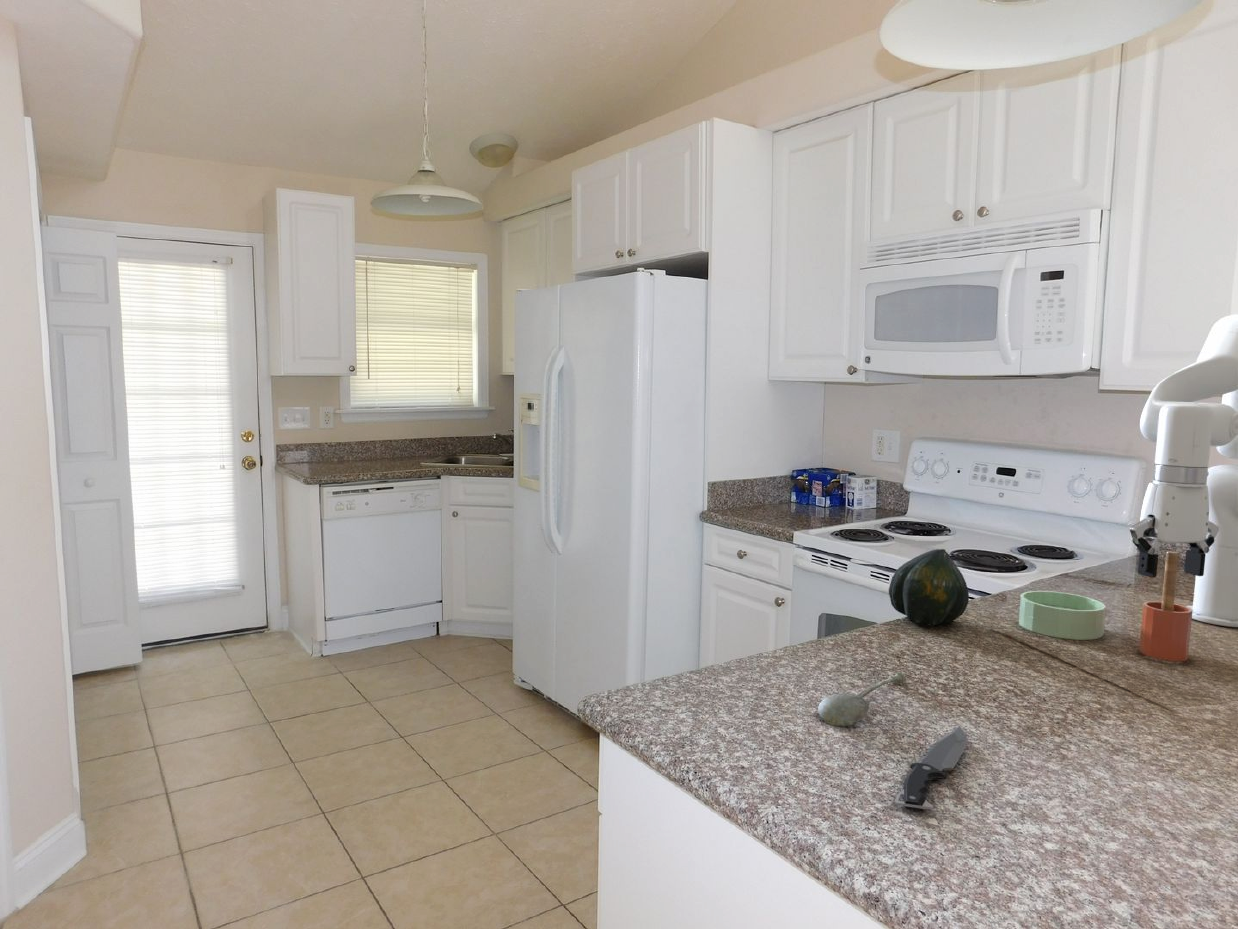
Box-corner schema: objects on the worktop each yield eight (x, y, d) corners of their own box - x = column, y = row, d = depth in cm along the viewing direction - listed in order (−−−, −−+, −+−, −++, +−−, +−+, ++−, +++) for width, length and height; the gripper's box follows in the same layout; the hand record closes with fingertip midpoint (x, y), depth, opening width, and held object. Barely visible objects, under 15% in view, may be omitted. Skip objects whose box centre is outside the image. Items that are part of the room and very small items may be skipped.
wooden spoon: (1151, 651, 142) (1160, 550, 140) (1159, 651, 142) (1169, 550, 140) (1166, 657, 139) (1176, 554, 137) (1174, 656, 139) (1184, 554, 138)
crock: (1162, 649, 145) (1166, 600, 144) (1197, 663, 138) (1202, 611, 137) (1129, 651, 143) (1133, 602, 142) (1163, 665, 137) (1168, 613, 136)
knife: (986, 736, 106) (947, 726, 109) (987, 729, 106) (947, 719, 109) (927, 819, 86) (880, 803, 89) (928, 810, 86) (881, 795, 89)
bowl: (1063, 618, 163) (1066, 589, 163) (1121, 641, 149) (1124, 609, 149) (1002, 621, 160) (1004, 592, 159) (1055, 644, 146) (1057, 612, 146)
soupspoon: (807, 721, 112) (851, 738, 108) (809, 698, 111) (853, 715, 107) (881, 676, 128) (921, 689, 123) (883, 656, 127) (923, 668, 123)
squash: (872, 596, 156) (931, 543, 151) (878, 582, 170) (932, 533, 165) (927, 652, 152) (990, 600, 148) (929, 633, 166) (986, 585, 162)
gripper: (1201, 473, 143) (1191, 569, 145) (1119, 473, 139) (1110, 571, 141) (1242, 479, 136) (1231, 579, 137) (1156, 478, 132) (1146, 581, 134)
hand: (1170, 575), depth 139 cm, fingers open, 9 cm apart
